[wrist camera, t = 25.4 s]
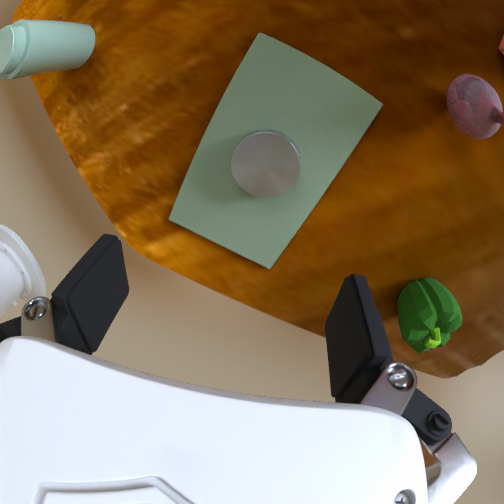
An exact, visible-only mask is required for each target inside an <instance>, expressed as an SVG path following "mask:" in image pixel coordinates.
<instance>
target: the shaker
mask: <svg viewBox="0 0 504 504" xmlns="http://www.w3.org/2000/svg"><path fill="white" fill-rule="evenodd" d="M95 40H96V37H95V31H94V29H93V28H92V27H91V26H90V25H89V24H86V23H78V22H68V21H56V20H19V21H17V22H15V23H14V24H12V25H7V26H6V27H4V28H2V29H1V30H0V77H1V78H2V79H4V80H10V79H15V78H19V77H24V76H30V75H36V74H42V73H49V72H57V71H66V70H74V69H77V68H79V67H81V66H82V65H83V64H84V63H85V62H86V61H87V60H88V59H89V57H90V56H91V54H92V52H93V49H94V46H95Z"/></svg>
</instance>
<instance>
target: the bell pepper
mask: <svg viewBox="0 0 504 504" xmlns="http://www.w3.org/2000/svg"><path fill="white" fill-rule="evenodd" d="M397 308H398V322H399V326H400V330H401V333H402V337H403V340H404V341H405V342H406V343H407V344H408V345H410V346H411V347H412V348H413V349H414V350H415V351H417V352H418V353H419V354H420V353H422V352H424V351H426V350H428V349H432V348H438V347H443V346H444V345H445V344H446V342H447V341H448V340H449V339H450V333H451V332H453V331H455V330H456V329H457V328H459V327H460V326H461V325H462V314H461V311H460V307H459V304H458V303H457V301H456V299H455V297H454V296H453V294H452V293H451V292H450V291H449V290H448V289H447V288H446V287H445V286H443V285H442V284H441V283H440V282H438V281H437V280H435V279H433V278H430V277H427V278H423V279H421V280H420V281H417V280H415V281H413V282H410V283H408V284H407V285H406V286H405V287H404V288H403V289H402V290H401V293H400V295H399V298H398V301H397Z"/></svg>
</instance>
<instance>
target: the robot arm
mask: <svg viewBox="0 0 504 504" xmlns="http://www.w3.org/2000/svg"><path fill="white" fill-rule="evenodd" d="M31 291H32V280H31V277H30V275H29V272H28V270H27V268H26V266H25V265H24V263H23V261H22V260H21V258H20V257H19V256H18V254H17V253H16V252H15V251H14V250H13V249H12V248H11V247H10V246H9V245H8V244H6V243H4V242H2V241H0V318H1V316H2V315H3V314H4V312H5V311H6V310H7V309H8V307H9V306H10V305H11V304H12V306H13V307H16V306H17V301H16V299H17V298H18V297H19V296H20V295H22V296H28V295H29V294H30V293H31ZM128 293H129V285H128V280H127V275H126V270H125V263H124V258H123V251H122V245H121V241H120V240H118V237H117V236H115V235H109V234H103V235H102V236H101V237H100V238H99V239H98V241H97V242H96V243H95V244H94V245H93V246H92V247H91V248H90V249H89V250H88V251H87V252H86V254H85V255H84V256H83V257H82V258H81V259H80V260H79V261H78V263H77V264H76V265H75V266H74V267H73V268H72V270H71V271H70V272H69V273H68V274H67V275H66V277H65V278H64V279H63V280H62V281H61V283H60V284H59V285H58V286H57V288H56V289H55V290H54V291H53V293H52V294H51V295H52V298H51V300H49V299H48V298H46V297H42V296H39V297H35V298H32V299H31V300H29V301H28V302H27V303H26V304H25V305H24V307H23V309H22V313H21V316H20V317H17V318H14V319H12V320H9V321H6V322H4V323H1V324H0V504H453V503H454V502H455V500H456V499H457V498H458V497H459V496H460V495H461V494H462V492H463V491H464V490H465V489H466V488H467V486H468V485H469V484H470V483H471V482H472V480H473V479H474V477H475V475H476V471H477V465H476V462H475V460H474V459H473V457H472V456H471V455H470V453H469V451H468V450H467V449H466V447H465V445H464V444H463V443H462V441H461V440H460V438H459V437H458V435H457V434H456V433H454V434H452V433H451V429H452V422H451V418H450V417H449V414H448V413H447V412H446V411H445V410H444V409H442V408H441V407H440V406H438V405H437V404H436V403H435V402H433V401H432V400H431V399H430V398H428V397H427V396H426V395H425V394H423V393H422V392H421V391H420V390H418V389H417V388H416V386H417V376H416V373H415V372H414V370H413V369H412V368H411V367H410V366H409V365H408V364H406V363H404V362H401V361H394V360H393V357H392V353H391V349H390V346H389V342H388V339H387V335H386V332H385V329H384V325H383V322H382V319H381V316H380V313H379V311H378V310H377V309H376V306H375V303H374V300H373V297H372V294H371V291H370V288H369V285H368V282H367V280H366V277H365V276H363V275H357V274H351V275H350V276H349V277H346V278H345V279H344V282H343V284H342V287H341V289H340V291H339V294H338V296H337V298H336V301H335V303H334V305H333V308H332V310H331V312H330V314H329V316H328V319H327V321H326V324H325V334H326V342H327V352H328V362H329V373H330V385H331V395H332V397H335V400H336V401H335V402H320V401H306V400H294V399H284V398H274V397H265V396H257V395H250V394H243V393H236V392H230V391H224V390H219V389H213V388H208V387H203V386H198V385H193V384H189V383H184V382H180V381H175V380H171V379H167V378H163V377H159V376H156V375H152V374H148V373H145V372H141V371H138V370H134V369H131V368H128V367H124V366H121V365H118V364H115V363H112V362H109V361H106V360H103V359H100V358H97V357H94V356H92V353H93V352H95V351H96V350H97V349H98V347H99V345H100V343H101V341H102V340H103V338H104V336H105V334H106V332H107V330H108V329H109V327H110V325H111V323H112V321H113V320H114V318H115V316H116V314H117V313H118V311H119V309H120V308H121V306H122V304H123V302H124V300H125V299H126V297H127V295H128Z"/></svg>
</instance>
